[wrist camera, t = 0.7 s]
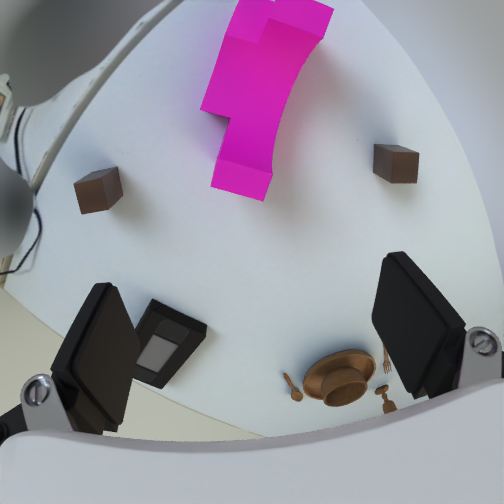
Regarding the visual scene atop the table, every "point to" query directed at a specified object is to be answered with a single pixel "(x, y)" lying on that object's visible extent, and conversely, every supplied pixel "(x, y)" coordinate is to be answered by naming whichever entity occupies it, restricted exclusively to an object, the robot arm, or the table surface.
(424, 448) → the robot arm
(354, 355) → the place setting
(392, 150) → the brown cubes
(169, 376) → the vhs tape
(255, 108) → the toy block
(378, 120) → the table surface
